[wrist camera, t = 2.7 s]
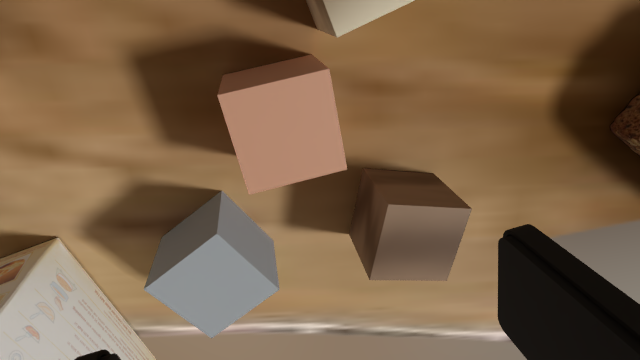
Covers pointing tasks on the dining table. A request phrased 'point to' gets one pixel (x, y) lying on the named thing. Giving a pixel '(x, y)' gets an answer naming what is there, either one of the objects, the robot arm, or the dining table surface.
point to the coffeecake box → (58, 310)
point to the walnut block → (407, 225)
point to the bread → (629, 125)
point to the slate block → (214, 266)
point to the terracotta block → (283, 122)
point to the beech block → (349, 13)
